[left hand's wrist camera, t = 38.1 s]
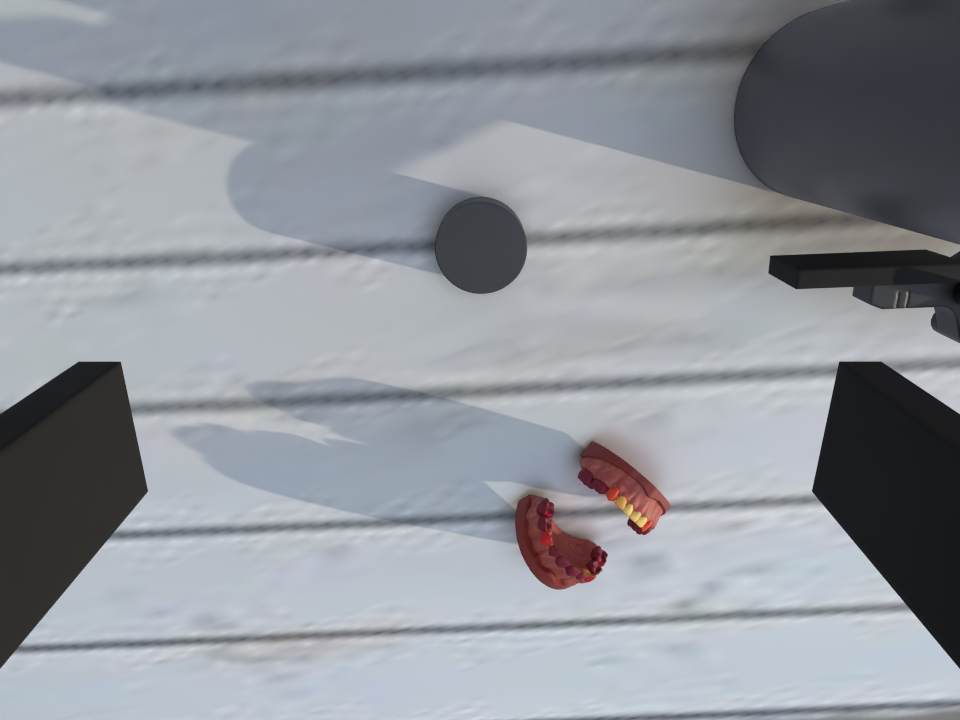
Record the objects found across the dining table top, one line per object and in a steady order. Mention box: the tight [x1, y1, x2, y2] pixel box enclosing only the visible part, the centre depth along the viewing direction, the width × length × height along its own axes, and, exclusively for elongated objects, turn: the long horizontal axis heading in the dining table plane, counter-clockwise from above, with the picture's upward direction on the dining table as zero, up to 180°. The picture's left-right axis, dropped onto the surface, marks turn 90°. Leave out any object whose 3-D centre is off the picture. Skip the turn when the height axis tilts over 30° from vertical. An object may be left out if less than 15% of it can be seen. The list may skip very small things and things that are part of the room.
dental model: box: [515, 441, 670, 589], centre depth 36 cm, size 6×4×8 cm
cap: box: [435, 197, 527, 294], centre depth 32 cm, size 4×4×2 cm
